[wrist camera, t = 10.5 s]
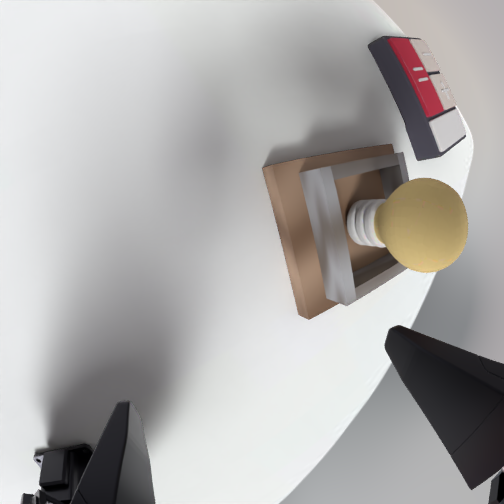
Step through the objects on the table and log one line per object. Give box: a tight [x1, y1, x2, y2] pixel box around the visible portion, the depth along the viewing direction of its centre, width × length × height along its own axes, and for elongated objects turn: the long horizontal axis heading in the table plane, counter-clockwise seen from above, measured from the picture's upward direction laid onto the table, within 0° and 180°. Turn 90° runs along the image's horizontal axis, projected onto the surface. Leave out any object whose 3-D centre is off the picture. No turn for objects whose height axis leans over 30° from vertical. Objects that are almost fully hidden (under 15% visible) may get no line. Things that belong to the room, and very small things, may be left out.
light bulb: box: [347, 178, 468, 273], centre depth 19 cm, size 6×6×10 cm
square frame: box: [262, 144, 409, 320], centre depth 23 cm, size 12×14×4 cm
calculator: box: [368, 36, 466, 161], centre depth 27 cm, size 11×4×15 cm
